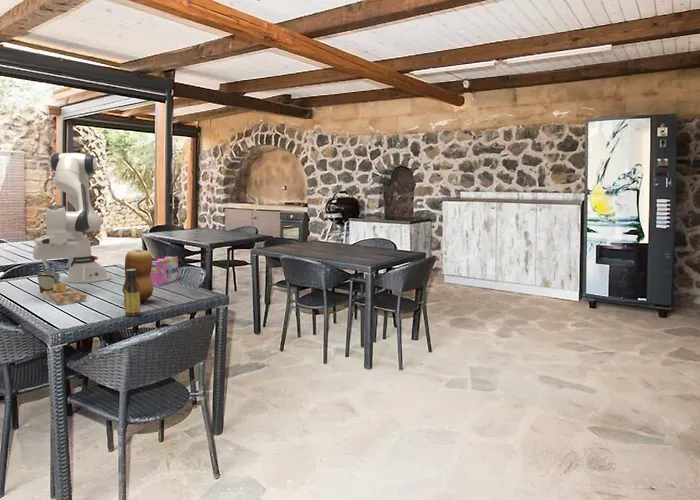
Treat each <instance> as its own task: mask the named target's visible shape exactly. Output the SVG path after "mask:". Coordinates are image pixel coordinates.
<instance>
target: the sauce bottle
mask: <svg viewBox="0 0 700 500" xmlns="http://www.w3.org/2000/svg"><path fill="white" fill-rule="evenodd" d="M126 274H127V280H126V283H125V286H124V293H123V298H124V302H123V303H124V314H125V315H126V316H130V317H132V316H133V317H134V316H135V317H136V316H139V315H141V302H140V290H139V283H138V282H137V281H136V269H127V270H126Z"/></svg>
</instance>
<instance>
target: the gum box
mask: <svg viewBox="0 0 700 500" xmlns="http://www.w3.org/2000/svg"><path fill="white" fill-rule="evenodd" d="M179 275H180V274H179V259H178V255H177V256H169V255H163V256H160V257H156V258H152V268H151V274H150V277H151V281H152V284H153V287H159V286H163V285H165V283H166V284H168V283H170V282H173V281H176V280H179V278H180V277H179Z"/></svg>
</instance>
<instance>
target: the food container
mask: <svg viewBox="0 0 700 500" xmlns="http://www.w3.org/2000/svg"><path fill="white" fill-rule="evenodd" d="M36 277H37V280H38V287H39V293H40V294H43V292H44V291H52V290H53V283H60V281H59V280H60V278H61V275H60V273H59V272H56V271H47V272H46V271H44V272H37V275H36Z"/></svg>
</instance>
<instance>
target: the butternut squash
mask: <svg viewBox="0 0 700 500" xmlns="http://www.w3.org/2000/svg"><path fill="white" fill-rule="evenodd" d="M152 259H153V257H152V254H151V252H150V251H148V250H146V249H145V250H142V249H132V250H131V249H130V250H129V251H127V253H126V255H125V259H124V278H125V279H124V281H123V285H122V292H123V294H124V286H125V283H126V280H127V274H126V270H127V269H136V281H137V282H138V283H139V290H140V303H144V302H145V301H147V300H148V299H149V298H151V296H152V295H153V293H154V286H153V284H152V281H151V277H150V274H151V268H152Z"/></svg>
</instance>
